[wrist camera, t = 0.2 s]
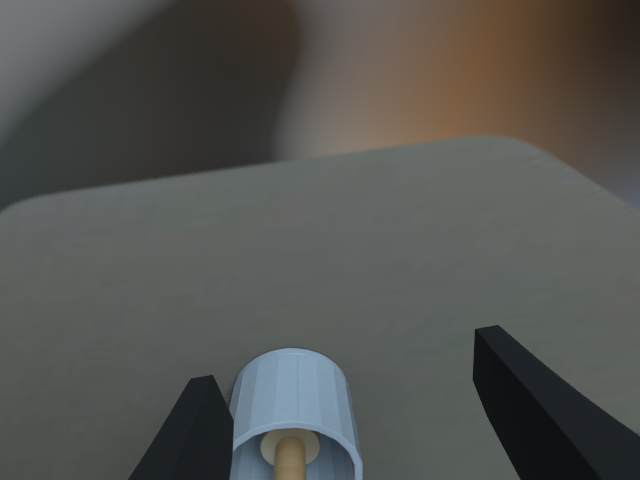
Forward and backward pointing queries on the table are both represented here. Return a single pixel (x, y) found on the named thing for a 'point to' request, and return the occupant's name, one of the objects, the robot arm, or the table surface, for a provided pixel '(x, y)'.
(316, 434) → the brush
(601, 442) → the robot arm
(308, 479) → the blue pencil cup
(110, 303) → the table surface
